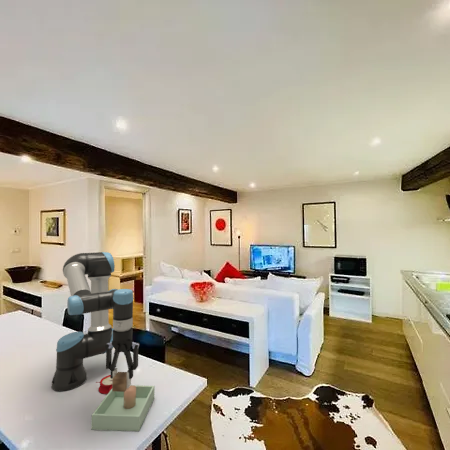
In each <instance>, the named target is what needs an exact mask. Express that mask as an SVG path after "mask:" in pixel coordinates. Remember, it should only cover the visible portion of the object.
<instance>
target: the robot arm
mask: <svg viewBox="0 0 450 450" xmlns="http://www.w3.org/2000/svg"><path fill="white" fill-rule="evenodd" d="M114 260H115V259H114V256H113V255H112V254H111V252H107V251H102V252H79V253H76V254H74V255H71V257H69V258H68V259H67V260H66V261H65V262H64V264H63V266H62V274H63V276H64V278H66V280H67V285H68V289H69V292H70V296H69V297H68V298H67V306H66V307H67V308H66V309H67V313H68V315H70V316H75V315H78V316H80V315H84V314H88V313H90V327H89V328H87V333H84V332H83V331H74V332H69V333H67V334H64V335H63V336H61V337H60V338H59V339H58V340H57V342H56V348H55V349H56V350H55V351H56V358H55V359H56V360H55V361H56V363H55V365H56V366H55V372H54V375H53V377H52V380H51V390H53V391H55V392H67V391H70V390H71V391H72V390H74V389H76V388H78V387H80V386H82V385H83V384H84V383H85V382H86V380H87V377H88V376H87V371H86V368H85V365H84V359H88V358H90V357H94V356H95V357H96V356H99V355H104V354H105V370H109V371H110V374H109V375H110V377H111V379H113V377H114V376H115V375H116V374H117V373H118V367H117V363H118V360H119V356H120V353H123V354H124V357H125V361H126V365H127V369H128V370H127V371H126V372H127V387H126V388H129V387H130V385H132V378H133V377H134V371H136V370H137V369H138V367H139V347H140V342H134V340H133V322H134V321H133V315H134V314H133V313H134V292H133V290H132V289H129V288H120V289H118V288H111V289H110V290H109V280H110V278H111V277H112V273H114V272H115V266H116V265H115V261H114ZM86 275H87V277H86ZM87 279H89V280H90V285H89V282H88V280H87ZM109 310H112V325H111V324H110V323H109ZM131 348H132V349H133V350H132V351H131ZM113 349H114V351H113ZM112 353H113V354H112ZM112 357H113V358H112ZM112 385H113V381H112Z"/></svg>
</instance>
